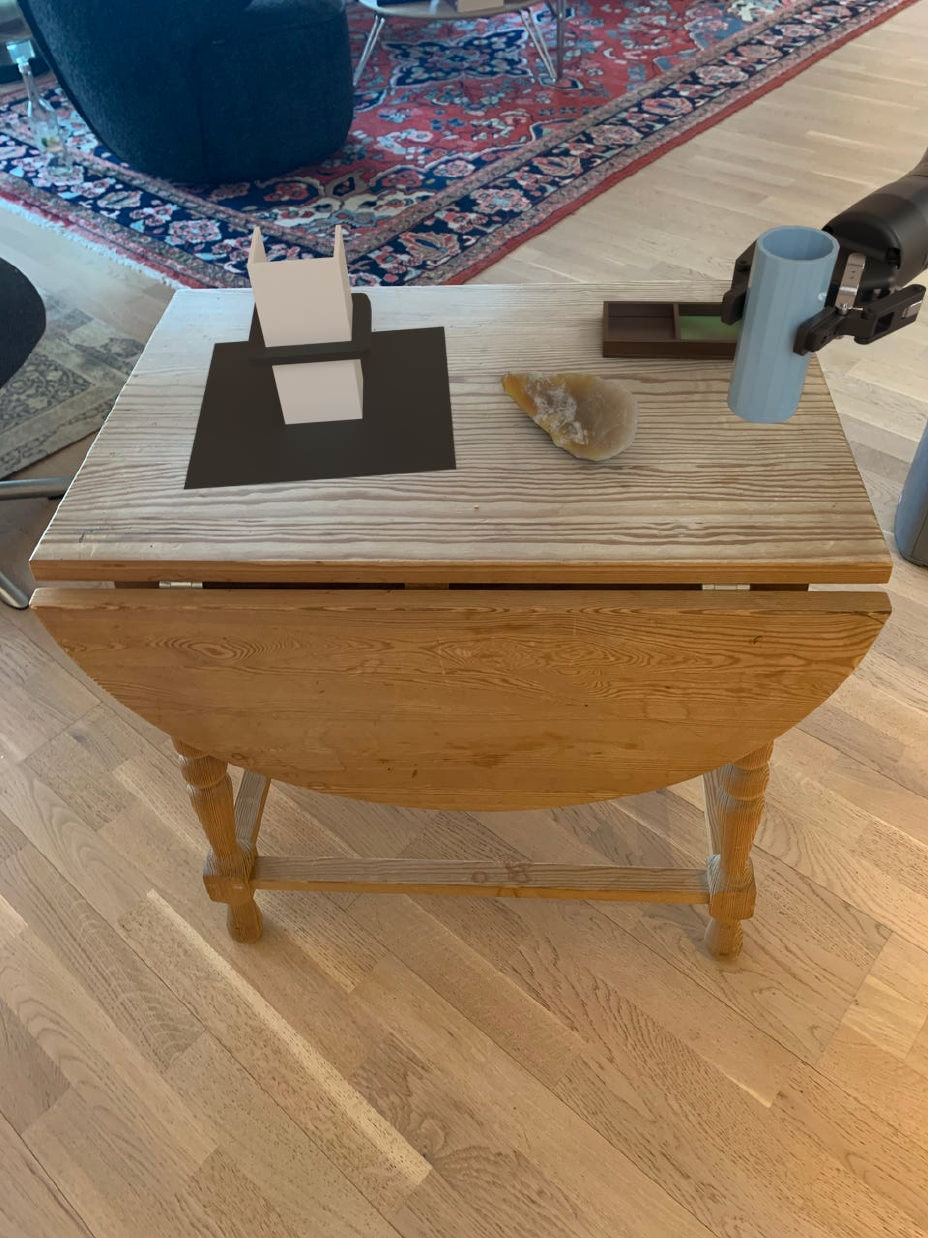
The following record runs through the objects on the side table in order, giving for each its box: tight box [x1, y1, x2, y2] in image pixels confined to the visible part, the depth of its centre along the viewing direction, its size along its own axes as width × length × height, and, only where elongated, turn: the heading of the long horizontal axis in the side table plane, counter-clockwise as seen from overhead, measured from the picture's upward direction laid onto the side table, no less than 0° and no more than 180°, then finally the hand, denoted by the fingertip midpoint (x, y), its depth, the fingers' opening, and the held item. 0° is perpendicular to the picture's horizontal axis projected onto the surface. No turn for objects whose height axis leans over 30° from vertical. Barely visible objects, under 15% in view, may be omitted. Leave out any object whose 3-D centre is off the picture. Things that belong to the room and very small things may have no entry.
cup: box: [726, 225, 840, 425], centre depth 68 cm, size 5×5×13 cm
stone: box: [500, 369, 640, 462], centre depth 85 cm, size 7×6×15 cm
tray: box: [601, 300, 742, 361], centre depth 96 cm, size 8×15×2 cm, turn 84°
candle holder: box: [183, 224, 457, 490], centre depth 86 cm, size 25×24×16 cm
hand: (762, 326), depth 66 cm, fingers closed on cup, 5 cm apart
